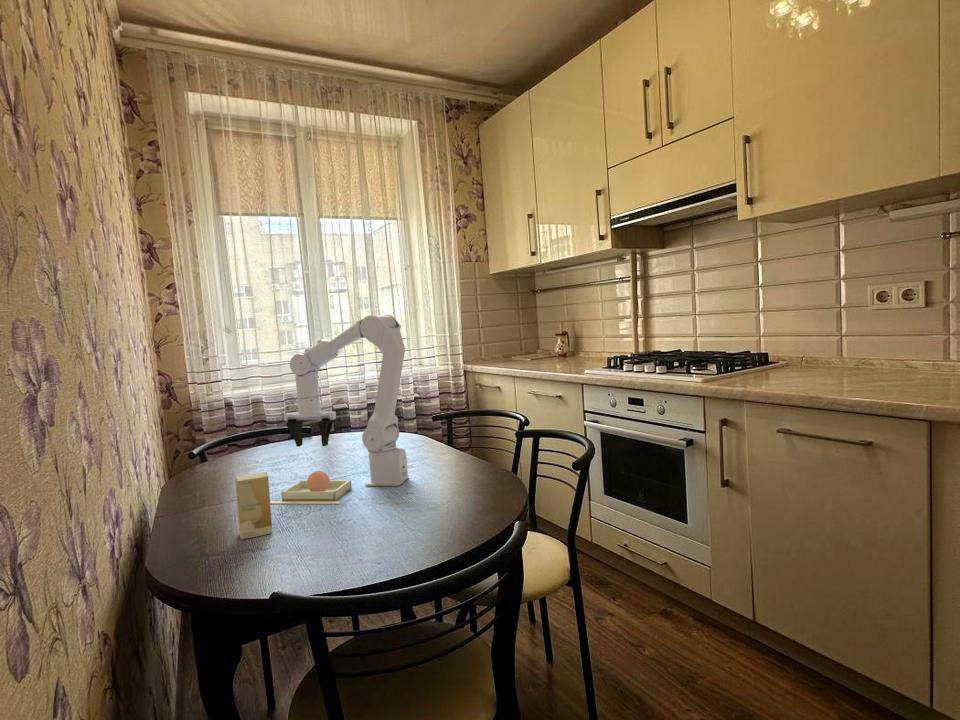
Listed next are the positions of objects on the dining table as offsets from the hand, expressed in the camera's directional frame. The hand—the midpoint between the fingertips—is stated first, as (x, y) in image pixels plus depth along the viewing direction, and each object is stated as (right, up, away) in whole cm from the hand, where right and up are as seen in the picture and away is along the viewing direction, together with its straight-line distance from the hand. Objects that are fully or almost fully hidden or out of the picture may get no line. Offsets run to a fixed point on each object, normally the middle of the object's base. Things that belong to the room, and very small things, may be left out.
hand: (312, 445), depth 151 cm
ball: (+6, -7, -14) cm, 17 cm away
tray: (+6, -10, -14) cm, 18 cm away
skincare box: (0, -13, -38) cm, 40 cm away
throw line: (+4, -11, -20) cm, 23 cm away
